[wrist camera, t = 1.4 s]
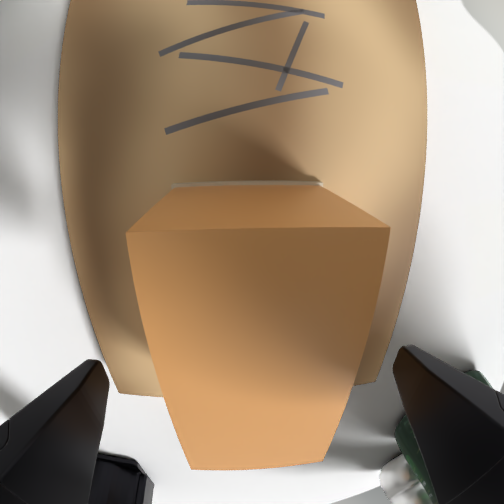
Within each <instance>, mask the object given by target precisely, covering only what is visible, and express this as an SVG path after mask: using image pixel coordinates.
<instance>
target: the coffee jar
mask: <svg viewBox="0 0 504 504" xmlns="http://www.w3.org/2000/svg"><path fill="white" fill-rule="evenodd" d="M465 374H467V375H469V376H471V377H472V378H474V379H476V380H478V381H480V382H482V383H483V384H485V385H487V386H489V387H491V388H492V386H491V385H490V383H489V382H488V381H487V379H486V378H485V377H484V376H483V374H482V373H481V372H480V371H476V370H475V371H468V372H466V373H465ZM395 438H396V441H397V444H398V446H399V448H400V450H401V452H402V454H403V455H404V457H405V459H406V461H407V462H408V464H409V466H410V467H411V469H412V470H413V472H414V474H415V475H416V477H417V478H418V480H419V481H420V483H421V484H422V486H423V488H424V489H425V491H426V493H427V494H428V496H429V498H430V499H431V501H432V503H433V504H438V501H437V498H436V495H435V492H434V489H433V486H432V483H431V480H430V477H429V474H428V471H427V468H426V465H425V462H424V459H423V457H422V454H421V451H420V449H419V446H418V443H417V441H416V438H415V435H414V433H413V430H412V428H411V425H410V423H409V420H408V418H407V415H405V416H404V417H403V419H402V420H401V422H400V423H399V425H398V426H397V428H396V431H395Z"/></svg>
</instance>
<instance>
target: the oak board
mask: <svg viewBox="0 0 504 504" xmlns="http://www.w3.org/2000/svg"><path fill="white" fill-rule="evenodd" d="M426 144H427V86H426V70H425V58H424V48H423V40H422V32H421V26H420V19H419V14H418V8H417V3H416V0H71V1H70V5H69V10H68V15H67V20H66V26H65V32H64V38H63V45H62V53H61V63H60V74H59V90H58V146H59V163H60V175H61V185H62V193H63V201H64V208H65V215H66V221H67V227H68V232H69V238H70V243H71V248H72V253H73V257H74V262H75V266H76V270H77V274H78V278H79V282H80V286H81V289H82V293H83V297H84V300H85V303H86V307H87V310H88V313H89V316H90V320H91V323H92V326H93V329H94V332H95V334H96V337H97V340H98V343H99V346H100V348H101V351H102V354H103V356H104V359H105V361H106V364H107V366H108V369H109V371H110V374H111V376H112V378H113V381H114V383H115V385H116V387H117V390H118V392H119V393H122V394H131V395H141V396H154V397H163V394H162V391H161V388H160V384H159V381H158V378H157V375H156V371H155V368H154V364H153V361H152V357H151V354H150V350H149V346H148V343H147V339H146V335H145V331H144V327H143V323H142V318H141V314H140V310H139V305H138V300H137V296H136V291H135V286H134V281H133V275H132V270H131V264H130V258H129V252H128V246H127V239H126V232H127V231H128V230H129V229H130V228H131V227H132V226H133V225H134V224H135V223H136V222H137V221H138V220H139V219H140V218H141V217H142V216H143V215H144V214H146V213H147V212H148V211H149V210H150V209H151V208H152V207H153V206H154V205H155V204H156V203H158V202H159V201H160V200H161V199H162V198H163V197H164V196H165V195H167V194H168V193H169V192H170V191H171V190H172V187H171V185H172V184H173V183H189V182H212V181H321V182H323V187H324V188H325V189H327V190H329V191H331V192H333V193H334V194H336V195H338V196H340V197H341V198H343V199H345V200H347V201H348V202H350V203H352V204H353V205H355V206H357V207H359V208H360V209H362V210H364V211H365V212H367V213H368V214H370V215H372V216H373V217H375V218H377V219H378V220H380V221H381V222H383V223H385V224H386V225H388V226H389V227H391V229H390V236H389V242H388V249H387V254H386V260H385V265H384V271H383V276H382V281H381V285H380V290H379V295H378V299H377V303H376V308H375V312H374V316H373V320H372V324H371V327H370V331H369V335H368V339H367V342H366V346H365V349H364V352H363V356H362V359H361V362H360V366H359V369H358V372H357V375H356V378H355V381H354V384H353V386H356V385H361V384H366V383H371V382H375V381H376V379H377V376H378V373H379V371H380V368H381V365H382V363H383V360H384V357H385V354H386V351H387V348H388V345H389V342H390V339H391V336H392V333H393V330H394V327H395V324H396V320H397V317H398V313H399V310H400V306H401V303H402V299H403V295H404V291H405V287H406V283H407V279H408V275H409V270H410V266H411V261H412V256H413V251H414V246H415V241H416V235H417V229H418V223H419V217H420V210H421V202H422V194H423V185H424V174H425V162H426Z"/></svg>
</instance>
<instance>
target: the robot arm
mask: <svg viewBox="0 0 504 504" xmlns="http://www.w3.org/2000/svg"><path fill="white" fill-rule="evenodd" d="M393 374H394V377H395V380H396V384H397V387H398V390H399V393H400V397H401V400H402V404H403V407H404V410H405V413H406V415H407V418H408V420H409V423H410V425H411V428H412V430H413V433H414V435H415V438H416V441H417V443H418V446H419V449H420V451H421V454H422V457H423V459H424V462H425V465H426V468H427V471H428V474H429V477H430V480H431V483H432V486H433V489H434V492H435V495H436V498H437V501H438V504H504V394H502V393H500V392H498V391H495V390H494V389H493V388H491V387H489V386H487V385H485V384H483V383H482V382H480V381H478V380H476V379H474V378H472V377H471V376H469V375H467V374H465V373H463V372H461V371H460V370H458V369H456V368H454V367H452V366H450V365H449V364H447V363H445V362H443V361H441V360H440V359H438V358H436V357H434V356H432V355H430V354H429V353H427V352H425V351H423V350H421V349H419V348H418V347H416V346H414V345H407V346H402V347H401V348H400V349H399V351H398V354H397V357H396V359H395V362H394V364H393ZM108 392H109V379H108V376H107V374H106V372H105V369H104V367H103V365H102V363H101V362H100V361H99V360H92V359H88V360H86V361H84V362H83V363H82V364H80V365H79V366H78V367H77V368H75V369H74V370H73V371H71V372H70V373H69V374H67V375H66V376H65V377H63V378H62V379H61V380H59V381H58V382H57V383H55V384H54V385H53V386H51V387H50V388H49V389H47V390H46V391H45V392H43V393H42V394H41V395H40V396H38V397H37V398H36V399H34V400H33V401H32V402H30V403H29V404H28V405H26V406H25V407H24V408H23V409H21V410H20V411H19V412H17V413H16V414H15V415H13V416H12V417H11V418H10V420H7V421H6V422H4V423H3V424H2V425H0V504H152V496H153V488H154V483H153V482H152V481H151V480H150V478H149V477H148V476H147V474H146V473H145V472H144V470H143V469H142V468H141V466H140V465H139V464H138V463H137V462H136V461H133V460H127V459H121V458H116V457H111V456H106V455H101V454H97V453H98V449H99V444H100V440H101V436H102V431H103V426H104V419H105V412H106V405H107V398H108Z"/></svg>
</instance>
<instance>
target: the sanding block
mask: <svg viewBox="0 0 504 504" xmlns="http://www.w3.org/2000/svg"><path fill="white" fill-rule="evenodd" d="M171 187H172V190H171V191H170V192H169V193H168V194H167V195H165V196H164V197H163V198H162V199H161V200H160V201H159V202H158V203H156V204H155V205H154V206H153V207H152V208H151V209H150V210H149V211H148V212H147V213H146V214H144V215H143V216H142V217H141V218H140V219H139V220H138V221H137V222H136V223H135V224H134V225H133V226H132V227H131V228H130V229H129V230H128V231H127V232H126V239H127V246H128V252H129V258H130V264H131V270H132V275H133V281H134V286H135V291H136V296H137V300H138V305H139V310H140V314H141V318H142V323H143V327H144V331H145V335H146V339H147V343H148V346H149V350H150V354H151V357H152V361H153V364H154V368H155V371H156V375H157V378H158V381H159V384H160V388H161V391H162V394H163V397H164V400H165V403H166V406H167V409H168V412H169V414H170V417H171V420H172V423H173V425H174V428H175V431H176V433H177V436H178V439H179V441H180V444H181V446H182V449H183V451H184V454H185V456H186V458H187V461H188V463H189V465H190V468H191V469H192V470H249V469H265V468H276V467H286V466H294V465H301V464H308V463H314V462H320V461H323V459H324V457H325V455H326V453H327V450H328V448H329V446H330V444H331V441H332V439H333V437H334V434H335V432H336V429H337V427H338V424H339V422H340V419H341V417H342V414H343V412H344V409H345V406H346V404H347V401H348V398H349V395H350V393H351V390H352V387H353V384H354V381H355V378H356V375H357V372H358V369H359V366H360V362H361V359H362V356H363V352H364V349H365V346H366V342H367V339H368V335H369V331H370V327H371V324H372V320H373V316H374V312H375V308H376V303H377V299H378V295H379V290H380V285H381V281H382V276H383V271H384V265H385V260H386V254H387V249H388V242H389V236H390V229H391V227H389V226H388V225H386V224H385V223H383V222H381V221H380V220H378V219H377V218H375V217H373V216H372V215H370V214H368V213H367V212H365V211H364V210H362V209H360V208H359V207H357V206H355V205H353V204H352V203H350V202H348V201H347V200H345V199H343V198H341V197H340V196H338V195H336V194H334V193H333V192H331V191H329V190H327V189H325V188H324V187H323V182H321V181H212V182H189V183H173V184H172V185H171Z"/></svg>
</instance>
